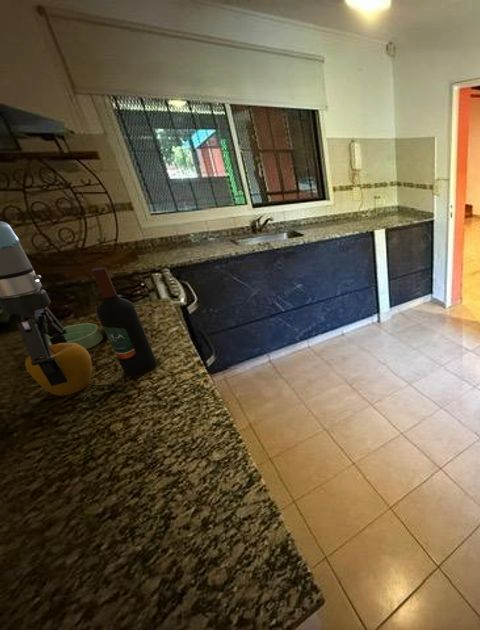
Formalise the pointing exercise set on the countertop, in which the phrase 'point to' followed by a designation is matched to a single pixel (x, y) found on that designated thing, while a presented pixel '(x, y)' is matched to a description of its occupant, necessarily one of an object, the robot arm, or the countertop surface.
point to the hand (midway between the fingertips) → (64, 370)
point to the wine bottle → (123, 328)
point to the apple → (65, 368)
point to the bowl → (82, 335)
